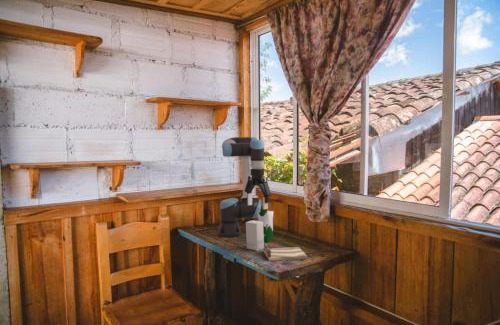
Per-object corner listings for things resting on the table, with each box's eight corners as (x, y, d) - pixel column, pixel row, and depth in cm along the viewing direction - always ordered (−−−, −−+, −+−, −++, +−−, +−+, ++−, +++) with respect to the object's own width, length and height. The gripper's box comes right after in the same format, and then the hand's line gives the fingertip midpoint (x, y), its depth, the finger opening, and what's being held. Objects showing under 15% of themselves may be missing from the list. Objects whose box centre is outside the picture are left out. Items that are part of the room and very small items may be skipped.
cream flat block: (262, 251, 200) (262, 242, 200) (298, 249, 203) (298, 240, 202) (267, 260, 184) (267, 251, 184) (307, 258, 187) (307, 249, 187)
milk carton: (255, 241, 221) (255, 208, 220) (263, 237, 229) (263, 206, 228) (268, 243, 216) (267, 210, 215) (275, 239, 224) (275, 207, 223)
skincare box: (264, 248, 205) (264, 221, 204) (256, 251, 200) (256, 223, 199) (253, 246, 211) (253, 219, 210) (245, 248, 206) (245, 221, 205)
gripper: (238, 167, 204) (238, 204, 205) (266, 170, 184) (266, 211, 186) (248, 166, 208) (249, 202, 210) (277, 169, 188) (277, 209, 190)
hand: (257, 206), depth 198 cm, fingers open, 13 cm apart
